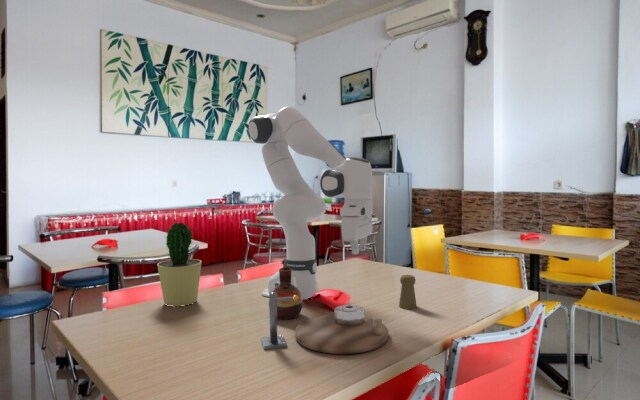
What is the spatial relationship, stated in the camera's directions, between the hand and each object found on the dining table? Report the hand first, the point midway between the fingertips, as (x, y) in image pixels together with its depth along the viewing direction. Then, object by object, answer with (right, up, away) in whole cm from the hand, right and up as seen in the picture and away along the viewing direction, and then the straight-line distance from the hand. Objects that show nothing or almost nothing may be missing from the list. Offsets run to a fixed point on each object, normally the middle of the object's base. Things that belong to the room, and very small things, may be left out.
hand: (358, 252), depth 129 cm
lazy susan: (-6, -22, -14) cm, 27 cm away
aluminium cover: (-4, -20, -8) cm, 21 cm away
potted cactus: (-63, -21, +20) cm, 70 cm away
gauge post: (-23, -22, -19) cm, 37 cm away
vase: (-24, -22, +4) cm, 32 cm away
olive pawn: (+18, -21, +12) cm, 30 cm away
